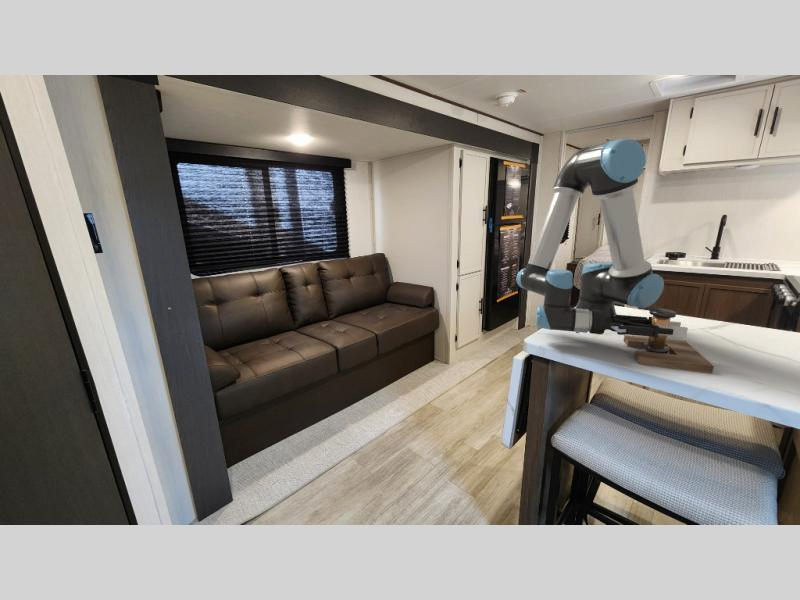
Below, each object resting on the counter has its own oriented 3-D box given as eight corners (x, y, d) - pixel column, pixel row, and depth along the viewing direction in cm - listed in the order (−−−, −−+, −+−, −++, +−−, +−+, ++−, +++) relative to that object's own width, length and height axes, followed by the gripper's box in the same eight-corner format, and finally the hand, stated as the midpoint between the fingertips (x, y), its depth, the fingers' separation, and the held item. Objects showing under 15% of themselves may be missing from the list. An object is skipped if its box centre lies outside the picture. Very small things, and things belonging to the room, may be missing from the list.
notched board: (623, 340, 106) (624, 334, 105) (683, 346, 100) (685, 340, 99) (639, 364, 90) (640, 357, 89) (712, 373, 84) (713, 366, 83)
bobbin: (640, 344, 99) (647, 307, 96) (664, 346, 97) (671, 309, 94) (646, 352, 94) (653, 313, 91) (671, 355, 92) (680, 315, 88)
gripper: (584, 323, 109) (669, 331, 100) (592, 342, 94) (693, 353, 85) (587, 302, 107) (674, 308, 98) (595, 318, 92) (699, 326, 83)
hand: (682, 329), depth 91 cm, fingers closed on bobbin, 4 cm apart
